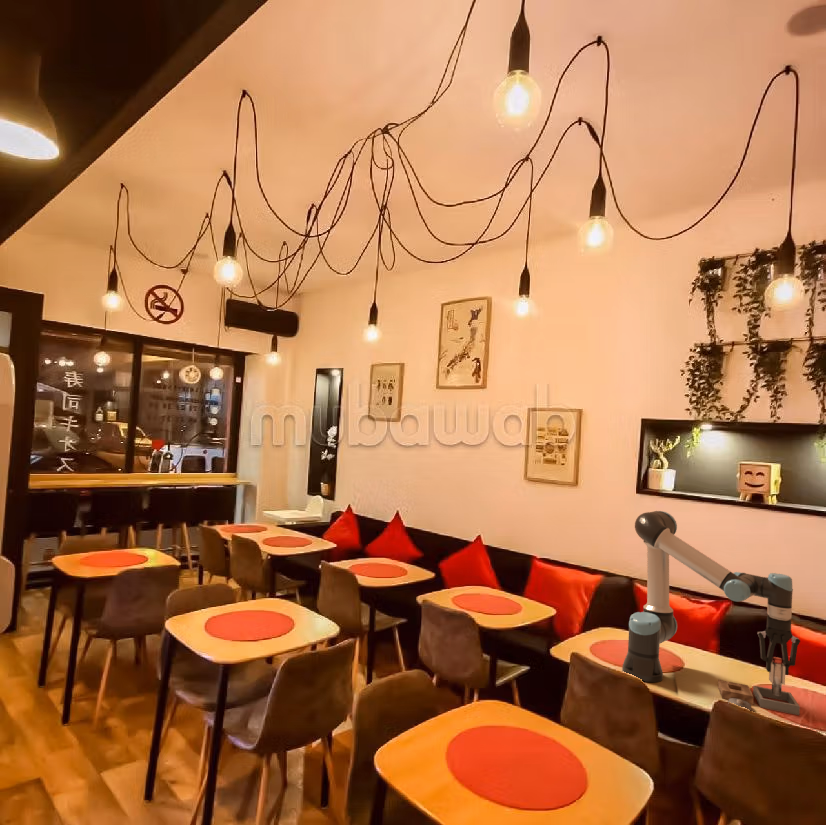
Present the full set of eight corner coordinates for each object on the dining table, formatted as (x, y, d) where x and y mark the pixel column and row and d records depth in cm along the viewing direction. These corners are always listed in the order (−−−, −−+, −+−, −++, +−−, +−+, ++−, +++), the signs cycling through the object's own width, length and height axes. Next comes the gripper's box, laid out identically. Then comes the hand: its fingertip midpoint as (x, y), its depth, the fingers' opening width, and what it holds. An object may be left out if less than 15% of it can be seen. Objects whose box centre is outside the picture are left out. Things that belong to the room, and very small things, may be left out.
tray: (759, 709, 202) (760, 698, 202) (753, 696, 213) (753, 685, 213) (799, 718, 198) (799, 706, 198) (790, 703, 209) (790, 692, 209)
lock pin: (772, 695, 204) (773, 659, 205) (770, 692, 207) (771, 656, 208) (782, 697, 203) (783, 660, 204) (780, 693, 206) (781, 657, 207)
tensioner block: (725, 710, 200) (725, 699, 200) (717, 690, 216) (718, 679, 217) (757, 717, 196) (758, 705, 196) (747, 696, 213) (748, 685, 213)
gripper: (756, 616, 206) (753, 681, 205) (808, 624, 200) (805, 691, 199) (751, 610, 213) (749, 673, 212) (801, 618, 207) (799, 682, 206)
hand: (776, 682), depth 205 cm, fingers closed on lock pin, 3 cm apart
